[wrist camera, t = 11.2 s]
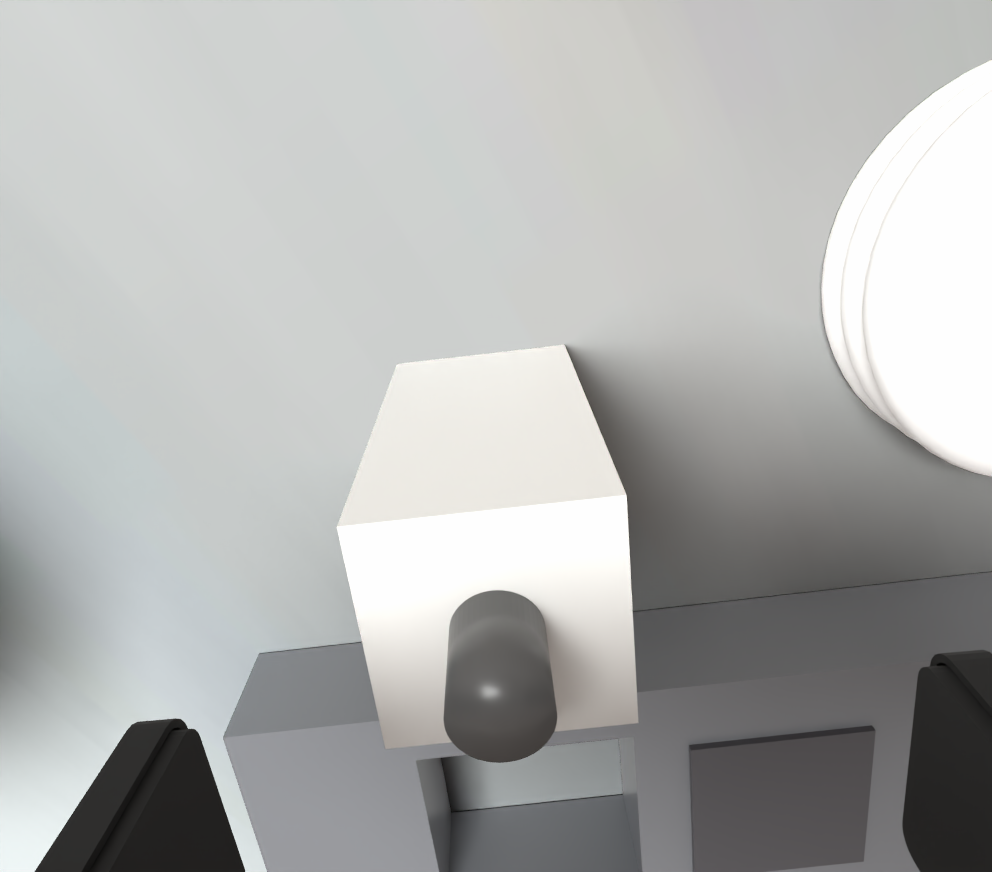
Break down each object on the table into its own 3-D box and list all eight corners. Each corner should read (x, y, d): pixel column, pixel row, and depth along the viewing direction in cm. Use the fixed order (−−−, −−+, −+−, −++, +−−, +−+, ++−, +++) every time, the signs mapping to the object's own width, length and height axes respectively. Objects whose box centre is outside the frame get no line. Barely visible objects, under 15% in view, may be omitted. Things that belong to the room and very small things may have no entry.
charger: (564, 344, 20) (654, 564, 10) (576, 495, 21) (664, 819, 11) (396, 363, 20) (308, 601, 10) (421, 512, 22) (370, 849, 11)
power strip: (1168, 552, 22) (1308, 636, 19) (1111, 775, 26) (1221, 885, 22) (258, 654, 23) (215, 754, 19) (318, 858, 27) (291, 978, 23)
